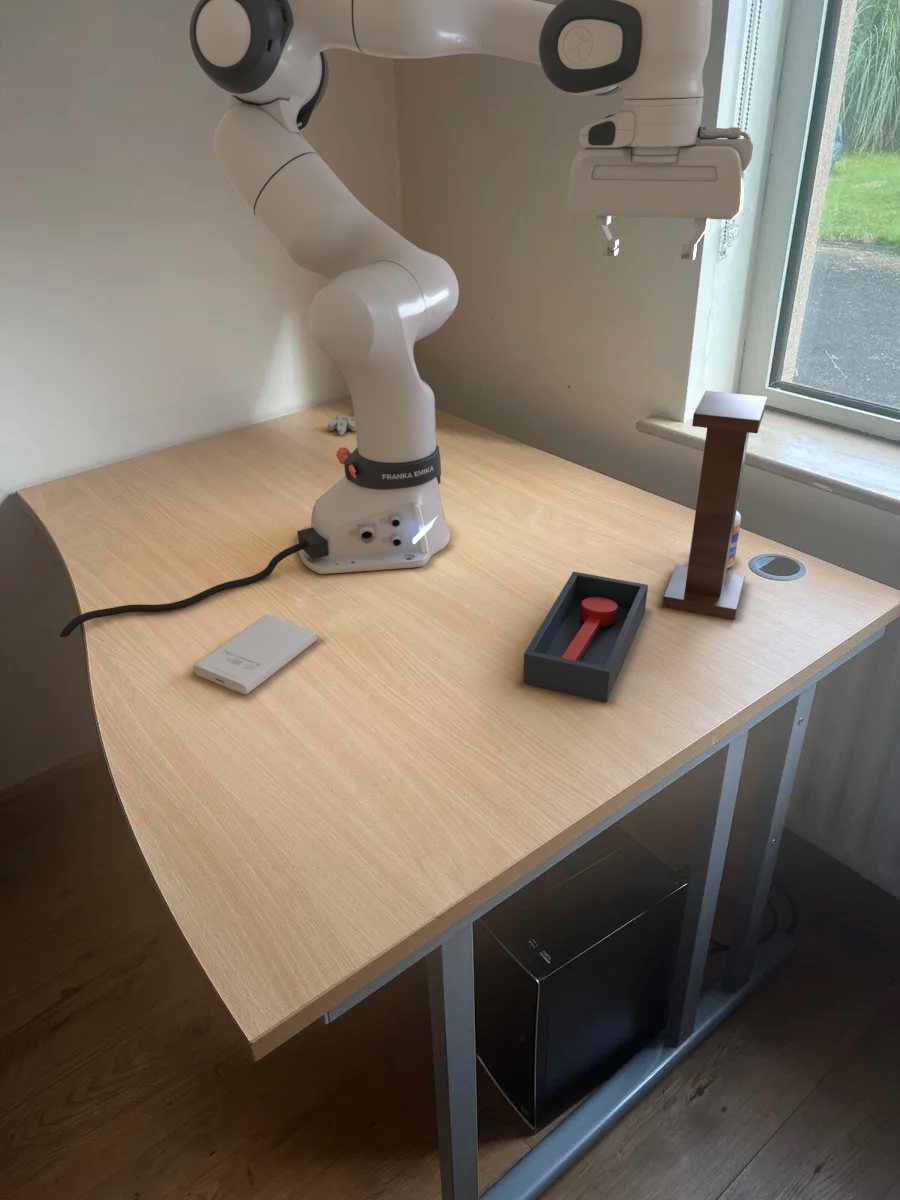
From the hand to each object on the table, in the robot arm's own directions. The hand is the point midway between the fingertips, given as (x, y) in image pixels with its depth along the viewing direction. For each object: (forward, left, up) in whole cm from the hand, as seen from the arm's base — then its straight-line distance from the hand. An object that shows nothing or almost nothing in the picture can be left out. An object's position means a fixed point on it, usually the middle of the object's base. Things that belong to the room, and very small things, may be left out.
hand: (648, 257), depth 105 cm
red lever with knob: (-17, -23, -37) cm, 47 cm away
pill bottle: (+9, -9, -39) cm, 41 cm away
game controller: (-28, +63, -39) cm, 79 cm away
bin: (-16, -22, -39) cm, 48 cm away
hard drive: (-54, -12, -39) cm, 68 cm away
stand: (+3, -17, -39) cm, 43 cm away
